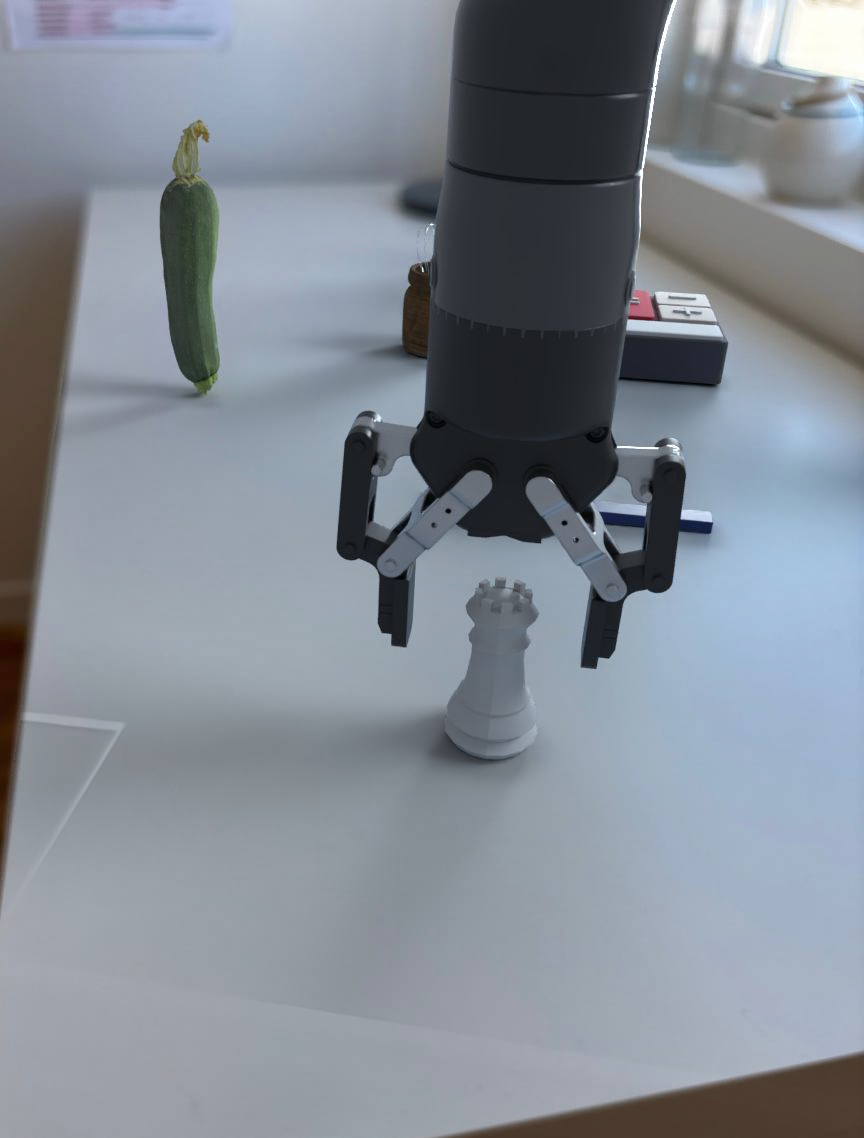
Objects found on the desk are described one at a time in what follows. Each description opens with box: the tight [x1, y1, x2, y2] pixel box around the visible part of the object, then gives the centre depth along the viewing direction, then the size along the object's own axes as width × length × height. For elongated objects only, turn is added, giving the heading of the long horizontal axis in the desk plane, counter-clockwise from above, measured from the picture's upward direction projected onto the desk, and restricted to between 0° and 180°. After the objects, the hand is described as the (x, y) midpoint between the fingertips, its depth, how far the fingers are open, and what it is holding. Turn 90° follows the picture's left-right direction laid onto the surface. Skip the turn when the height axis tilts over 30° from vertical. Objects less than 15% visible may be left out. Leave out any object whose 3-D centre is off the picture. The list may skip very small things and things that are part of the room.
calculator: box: [619, 289, 729, 385], centre depth 100 cm, size 11×4×15 cm
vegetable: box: [159, 119, 221, 396], centre depth 86 cm, size 4×4×20 cm
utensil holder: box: [401, 223, 435, 358], centre depth 98 cm, size 6×6×12 cm
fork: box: [593, 500, 714, 534], centre depth 74 cm, size 18×3×1 cm, turn 81°
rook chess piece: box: [443, 576, 540, 760], centre depth 52 cm, size 4×4×8 cm
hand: (493, 648), depth 52 cm, fingers open, 8 cm apart
